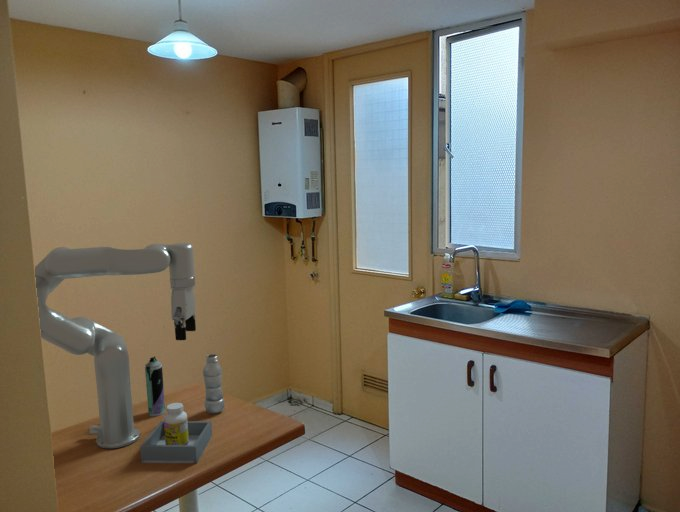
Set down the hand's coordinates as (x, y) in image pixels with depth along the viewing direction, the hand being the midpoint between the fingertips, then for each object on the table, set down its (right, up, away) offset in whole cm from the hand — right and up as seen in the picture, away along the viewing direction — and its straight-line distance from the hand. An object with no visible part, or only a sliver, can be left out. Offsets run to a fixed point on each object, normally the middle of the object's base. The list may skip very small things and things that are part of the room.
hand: (186, 335), depth 176 cm
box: (+1, -32, -11) cm, 34 cm away
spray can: (-14, -29, +14) cm, 35 cm away
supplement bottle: (+1, -32, -11) cm, 34 cm away
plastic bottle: (+6, -29, +14) cm, 32 cm away
